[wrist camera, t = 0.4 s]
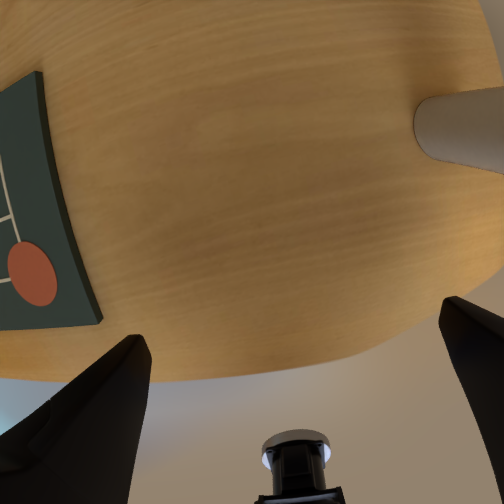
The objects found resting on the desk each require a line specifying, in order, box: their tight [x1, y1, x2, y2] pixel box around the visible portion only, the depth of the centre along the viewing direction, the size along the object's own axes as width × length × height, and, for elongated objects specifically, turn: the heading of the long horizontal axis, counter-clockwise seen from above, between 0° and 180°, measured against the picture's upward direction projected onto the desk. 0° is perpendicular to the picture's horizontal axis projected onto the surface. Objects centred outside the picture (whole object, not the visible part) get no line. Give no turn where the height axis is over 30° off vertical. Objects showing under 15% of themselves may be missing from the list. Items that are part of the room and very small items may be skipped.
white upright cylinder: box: [414, 86, 504, 175], centre depth 12 cm, size 5×5×13 cm
